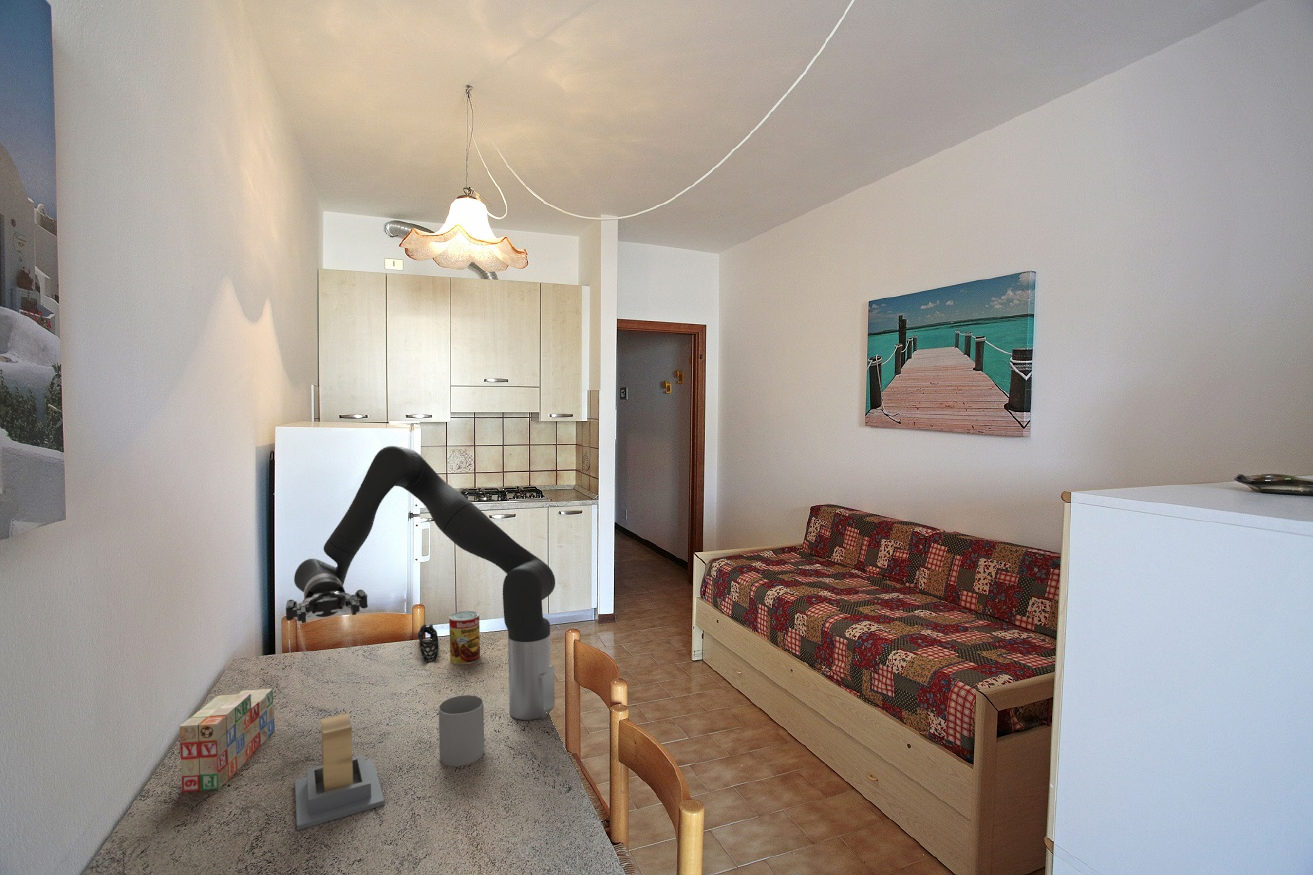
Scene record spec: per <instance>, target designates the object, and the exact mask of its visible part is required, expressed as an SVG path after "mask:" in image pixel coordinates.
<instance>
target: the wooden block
mask: <svg viewBox="0 0 1313 875" xmlns="http://www.w3.org/2000/svg"><path fill="white" fill-rule="evenodd" d="M320 720H321V721H320V722H321V759H322V760H321V762H322V764H321V765H323V790H324V792H327V791H331V790H335V789H338V788H342V787H346V786H349V785H353V764H352V757H353V733H352V732H353V731H352V730H353V729H352V722H351V718H350V712H348V713H347V712H346V713H341V714H338V715H333V716H329V717H324V718H321V719H320Z"/></svg>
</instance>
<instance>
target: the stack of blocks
mask: <svg viewBox="0 0 1313 875" xmlns="http://www.w3.org/2000/svg"><path fill="white" fill-rule="evenodd" d="M273 691H274V690H273V688H267V689H266V688H262V689H249V690H248V689H247V690H240V692H239V693H237V694H223V695H217V696H216V697H214V698H213V699H212V700H211V701H209V702H208V703H207V704H205V705H204V706H203V707H202V708H201V709H199V710H198V711H197V712H195V714H194V715H192V716H191V717H190V718H188V719H187V720H185V721H184V722H182V723H181V725H179V738H180V739H179V741H180V743H179V752H180V763H181V764H180V765H181V766H180V767H181V792H182V793H186V792H198V791H199V792H200V791H210V790H212V791H213V790H214V791H215V790H220V788H222V787H223V785H225V783H226V782H227V781H228V780H230V779H231V778H232V777H233V776H234V775H235V774H236V773H237V772H238V771H239V770H240V769H241V767H243V766H244V764H246V762H247V760H248V759H249V758H250V757H251V756H252V755H253V754H254V753H255V752H256V751H257V750H258V748H260V746H262V745H263V744H264V743H265V741H266V740H268V738H270V736H271V735H272V734H273V733H274V732H275V731H276V730H275V702H274V692H273ZM272 732H273V733H272ZM254 751H255V752H254ZM253 752H254V753H253Z"/></svg>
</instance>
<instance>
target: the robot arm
mask: <svg viewBox="0 0 1313 875" xmlns="http://www.w3.org/2000/svg"><path fill="white" fill-rule="evenodd" d="M372 459H373V460H372V461H371V463H370V465H369V467H368V470H367V472H366V473H365V475H364V477H363V480H362V482H361V483H360V486H359V488H358V490H357V492H356V493H355V496H354V498H353V500H352V502H351V504H350V505H349V508H348V509H347V511H346V512H345V513H344V516H343V517H342V518H341V520H340V522H339V523H338V524H337V526H336V528H335V529H334V530H333V532H332V533H331V534H330V536H329V537H328V539H327V540H326V542H324V545H323V551H324V553H325V555H326V556H328V557H329V558H330V559H332V561H333V562H335V564H337V566H334V565H331V564H329V563H326V562H324V561H322V560H320V559H317V558H308V559H305V560H304V561H302V562H301V563H300V564H299V565H298V567H297V568H296V570H295V573H294V577H293V578H294V579H293V580H294V585H295V587H296V588H298V590H299V591H301V592H303V600H302V602H297V600H295V599H289V600H287V601H286V605H285V620H286V621H292V620H294V618H296V619H297V622H301V624H306V623H307V618H313V617H318V618H327V617H332V616H334V615H336V614H337V613H339V612H340V613H346V612H349V611H350V612H351V615H352V616H355V615H357V613H359V612H360V611H361V609H367V608H369V606H368V594H367V593H366V591H364V589H358V590H356V592H355V593H354V594H350V593H348V592H346V590H345V587H344V584H345V581H346V576H347V574H348V571H349V569H350V566H351V564H352V562H353V560H354V558H355V556H356V555H357V554H358V552H359V550H360V549H361V548H362V546H363V544H364V543H365V542H366V540H367V539H368V537H369V536H370V533H371V531H372V529H373V526H374V523H375V518H376V514H377V512H378V509H379V507H380V505H381V503H382V501H383V500H384V498H385V497H386V496H387V495H388V494H389V493H390V491H391V490H392V489H393V488H394V487H400V488H403V489H404V490H405V491H407V492H408V493H410V494H411V495H412V496H414V497H415V498H416V499H417V500H419V502H421V503H422V504H423V505H424V507H425V508H426V509H427V511H428V513H429V515H430V517H431V519H432V520H433V522H434V524H435V525H436V526H437V528H438V529H439V530H440V531H441V532H442V533H443V534H444V535H445V536H446V537H447V538H448V539H449V540H450V541H451V542H452V543H453V544H455V545H456V546H457V547H459V548H460V549H462V550H463V551H465V552H467V553H470V554H471V555H474V556H476V557H479V558H481V559H483V560H486V561H488V562H490V563H492V564H494V565H495V566H497V567H498V568H500V570H502V571H503V572H504V573H505V574H506V575H505V577H504V580H503V584H502V604H503V605H502V606H503V618H504V619H503V620H504V624H505V627H506V629H507V640H508V641H507V642H508V643H507V644H508V645H507V647H508V650H507V652H508V655H507V656H508V699H509V702H508V706H509V715H510V716H511V717H512V718H514V719H516V720H522V721H531V720H536V719H545V718H546V717H547V716H548V715H547V713H548V714H550V712H551V711H552V710H553V709H554V708H555V707H556V706H555V704H556V700H555V699H556V698H555V697H556V696H555V666H554V665H551V624H550V623H551V622H550V620H548V619H547V618H545V617H544V615H543V600H545V599H546V598H548V597H549V596H551V595H552V593H553V592H554V590H555V587H556V578H555V574H554V572H553V570H552V569H551V567H550V566H549V565H548V564H547V563H546V562H545V561H543V560H542V559H540V558H539V557H538V556H536V555H535V554H534V553H531V552H530V551H529V550H527V549H526V548H525V547H523V545H520V544H519V543H518V542H516V540H514V539H513V538H512V537H511V536H510V535H509V534H508V533H506V532H505V531H504V530H503V529H502V528H501V527H500V526H498V525H497V524H496V523H495V522H494V521H492V520H491V519H490V518H489V517H488V516H487V514H486V513H485V512H483V511H482V510H481V509H480V508H478V507H477V506H476V505H475V504H474V503H473V502H472V501H471V500H469V499H468V498H467V497H466V496H464V495H463V494H461V493H460V492H459V490H457V489H455V488H454V487H453V486H452V485H450V484H448V483H447V481H445V480H444V479H443V478H442V477H441V476H440V475H439V474H438V473H437V471H435V470H434V469H433V467H432V466H431V465H430V464H429V463H428V462H427V461H426V460H425V458H424V457H423V456H422V455H421V454H420V453H418V452H417V451H416V450H414V449H411V448H406V447H403V446H398V445H387V446H385V447H382V448H381V449H380V450H379V451H378V452H377V453H376V454H375V456H374V457H373V458H372ZM544 708H545V709H544ZM546 712H547V713H546Z"/></svg>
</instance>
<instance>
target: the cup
mask: <svg viewBox="0 0 1313 875" xmlns="http://www.w3.org/2000/svg"><path fill="white" fill-rule="evenodd" d="M484 710H485V708H484V700H483V697H482V698H481V697H479V696H478V695H475V694H474V695H473V694H462V695H456V696H453V697H449V698H447V699H445V700H444V701H441V703H440V704H439V705H438V742H439V743H438V745H439V746H438V747H439V761H440V762H441V763H442V764H443V765H445V766H451V767H460V766H467V765H470V764H472V763H475V762H476V761H478V760H480V759H481V758H482V757H483V755H484V754H485V733H484V732H485V726H484V725H485V722H484V720H485V718H484V717H485V716H484V714H485V712H484Z"/></svg>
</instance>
